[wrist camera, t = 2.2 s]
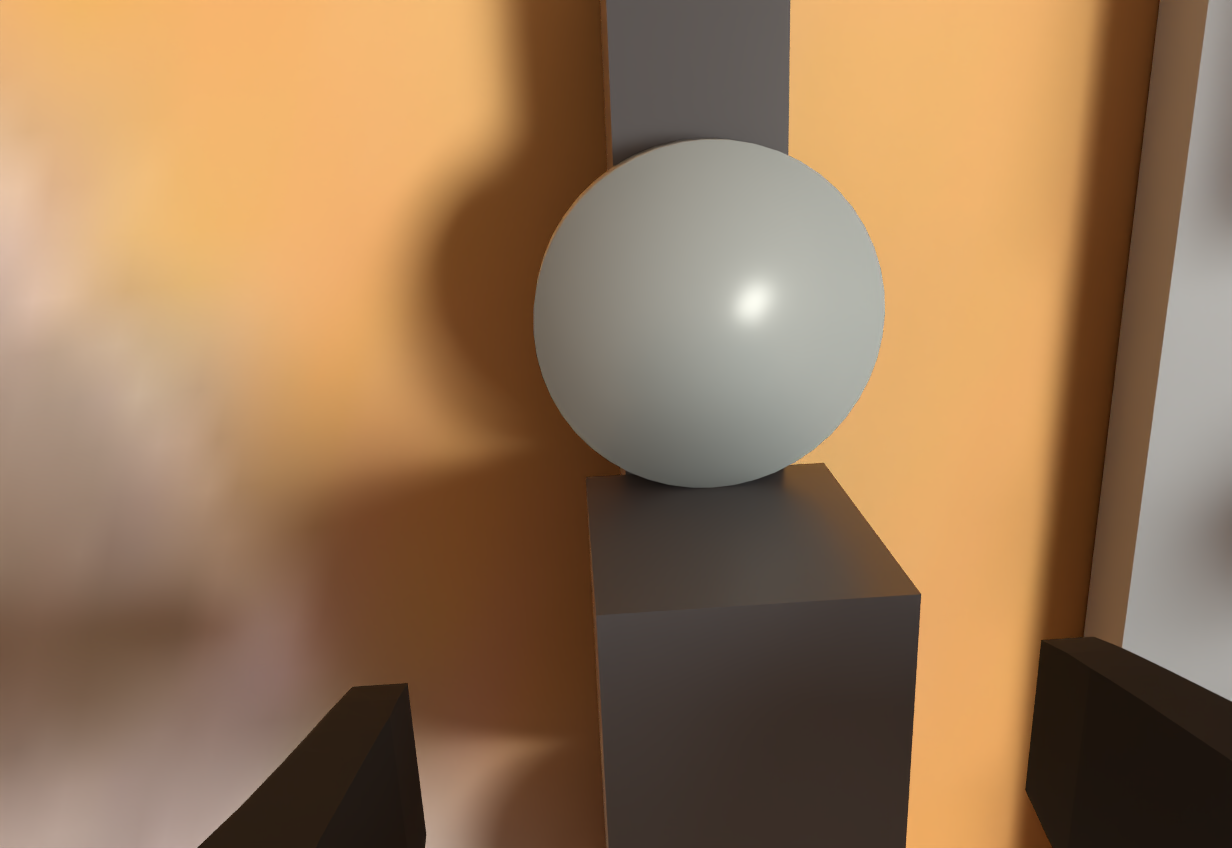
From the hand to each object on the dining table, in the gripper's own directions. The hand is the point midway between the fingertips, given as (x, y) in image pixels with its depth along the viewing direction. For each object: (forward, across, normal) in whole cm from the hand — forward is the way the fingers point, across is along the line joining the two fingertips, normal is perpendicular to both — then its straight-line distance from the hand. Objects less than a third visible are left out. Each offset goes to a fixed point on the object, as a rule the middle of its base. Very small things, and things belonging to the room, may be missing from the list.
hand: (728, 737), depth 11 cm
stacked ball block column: (+4, 0, 0) cm, 4 cm away
